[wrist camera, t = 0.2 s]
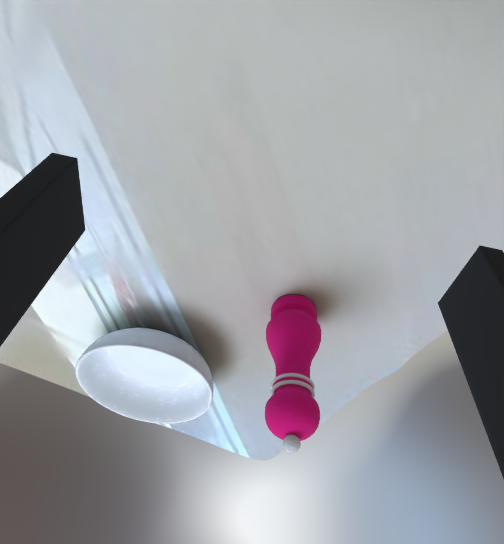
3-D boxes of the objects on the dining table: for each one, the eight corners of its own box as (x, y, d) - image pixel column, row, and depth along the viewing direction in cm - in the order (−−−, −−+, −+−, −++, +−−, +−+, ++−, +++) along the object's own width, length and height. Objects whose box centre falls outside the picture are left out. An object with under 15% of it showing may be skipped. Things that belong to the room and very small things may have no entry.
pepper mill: (329, 301, 53) (340, 445, 38) (306, 333, 58) (308, 473, 43) (279, 284, 52) (271, 426, 37) (260, 318, 57) (246, 457, 42)
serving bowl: (72, 309, 59) (50, 345, 54) (207, 308, 56) (197, 345, 51) (117, 388, 73) (103, 423, 67) (228, 390, 70) (222, 427, 64)
